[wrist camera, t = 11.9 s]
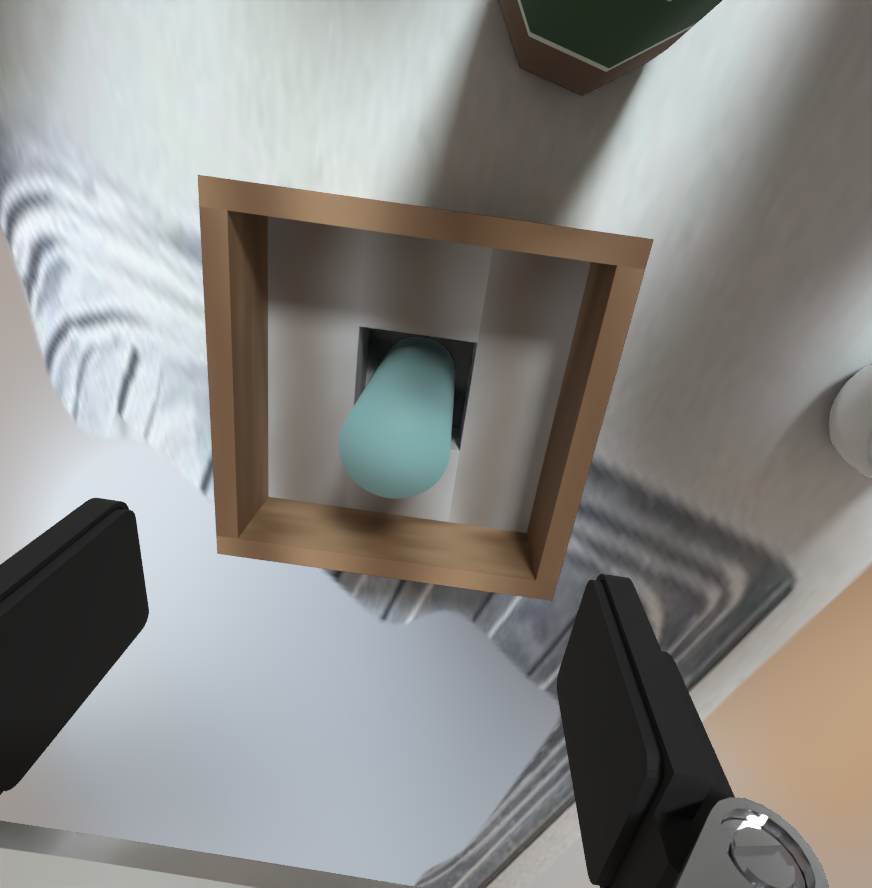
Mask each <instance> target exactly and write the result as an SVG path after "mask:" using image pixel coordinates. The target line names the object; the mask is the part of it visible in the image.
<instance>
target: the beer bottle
mask: <svg viewBox="0 0 872 888" xmlns="http://www.w3.org/2000/svg"><path fill="white" fill-rule="evenodd" d="M498 1H499V4H500V8H501V11H502V14H503V17H504V20H505V23H506V26H507V29H508V32H509V36H510V39H511V42H512V45H513V48H514V51H515V54H516V57H517V60H518V64H519V67H520V68H522V69H525V70H527V71H529V72H531V73H533V74H536V75H538V76H540V77H542V78H544V79H547V80H549V81H551V82H553V83H555V84H558V85H560V86H562V87H564V88H566V89H569V90H571V91H573V92H575V93H578V94H580V95H584V94H586V93H588V92H590V91H592V90H594V89H596V88H598V87H600V86H602V85H604V84H606V83H608V82H610V81H612V80H613V79H615V78H617V77H619V76H621V75H623V74H625V73H627V72H629V71H631V70H633V69H635V68H637V67H639V66H641V65H643V64H645V63H647V62H649V61H650V60H652V59H653V58H655V57H656V56H658V55H659V54H661V53H662V52H664V51H665V50H667V49H668V48H669V47H670V46H671V45H672V44H673V43H675V42H676V41H677V40H678V39H679V38H680V37H681V36H683V35H684V34H685V33H686V32H687V31H688V30H689V29H690V28H692V27H693V26H694V25H695V24H696V23H697V22H698V21H699V20H701V19H702V18H703V17H704V16H705V15H706V14H707V13H709V12H710V11H711V10H712V9H713V8H714V7H715V6H716V5H718V4H719V3H720V2H721V1H722V0H498Z"/></svg>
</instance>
